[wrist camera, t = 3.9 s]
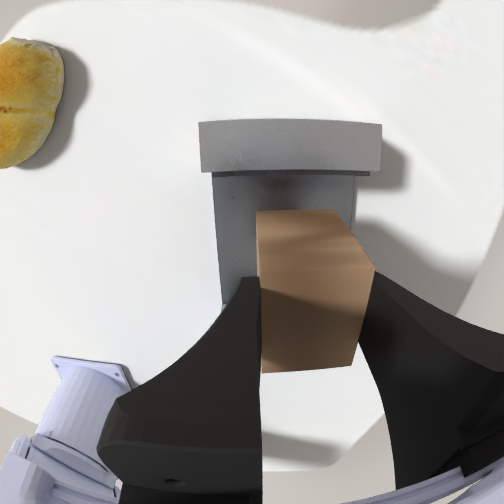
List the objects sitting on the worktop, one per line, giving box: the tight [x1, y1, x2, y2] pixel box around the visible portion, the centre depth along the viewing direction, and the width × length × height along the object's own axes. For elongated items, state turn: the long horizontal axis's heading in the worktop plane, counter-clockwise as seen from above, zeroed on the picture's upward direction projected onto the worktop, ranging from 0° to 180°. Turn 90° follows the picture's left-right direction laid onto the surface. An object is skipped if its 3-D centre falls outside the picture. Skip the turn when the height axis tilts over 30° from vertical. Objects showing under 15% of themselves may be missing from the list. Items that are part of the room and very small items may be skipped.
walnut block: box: [256, 209, 375, 373], centre depth 12 cm, size 4×4×5 cm
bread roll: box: [0, 37, 64, 169], centre depth 12 cm, size 8×9×4 cm
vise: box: [198, 119, 382, 304], centre depth 16 cm, size 14×8×4 cm, turn 2°
